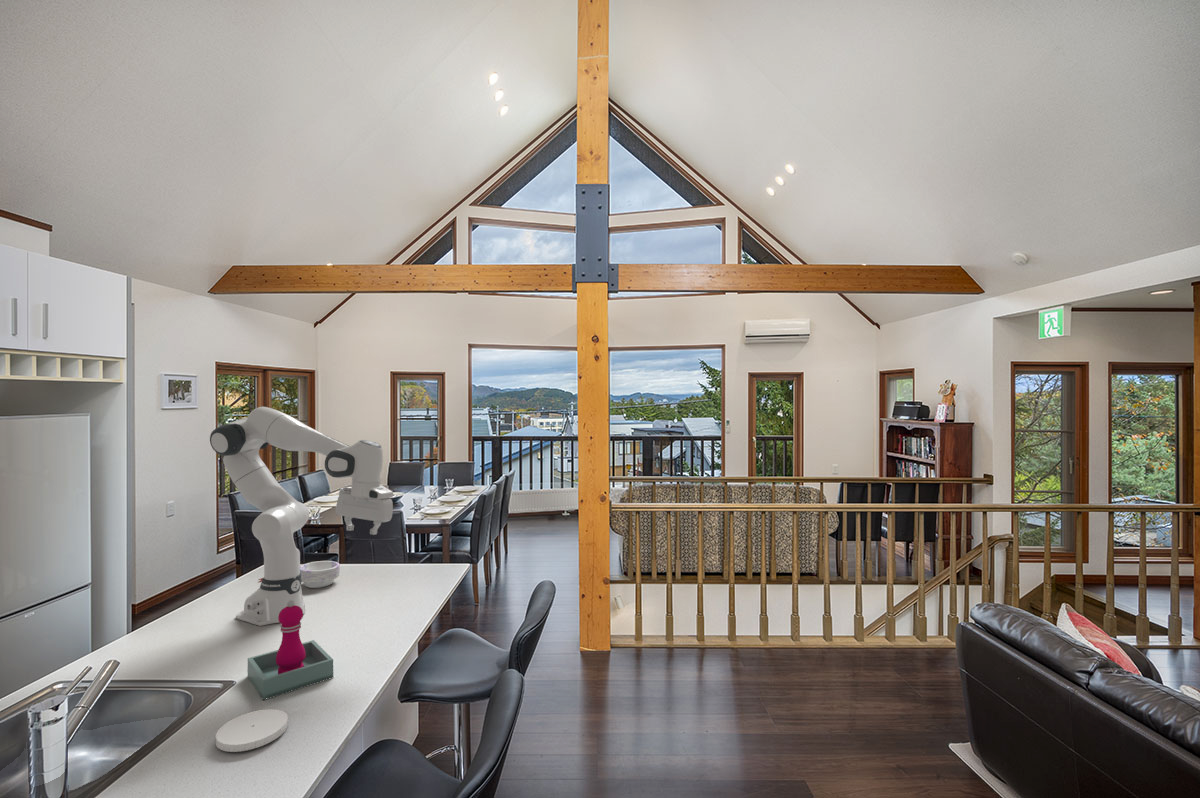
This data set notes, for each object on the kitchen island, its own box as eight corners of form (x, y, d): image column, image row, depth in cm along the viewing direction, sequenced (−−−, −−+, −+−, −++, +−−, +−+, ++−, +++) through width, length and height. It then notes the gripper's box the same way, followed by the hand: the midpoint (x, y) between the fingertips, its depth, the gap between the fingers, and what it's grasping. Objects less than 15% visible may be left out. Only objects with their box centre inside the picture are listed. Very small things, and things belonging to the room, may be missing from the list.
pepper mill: (311, 669, 158) (311, 597, 158) (289, 681, 151) (289, 606, 151) (291, 665, 161) (291, 594, 161) (269, 677, 154) (269, 603, 154)
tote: (247, 676, 156) (247, 658, 156) (313, 656, 168) (313, 640, 168) (263, 700, 144) (263, 680, 144) (333, 677, 156) (333, 659, 156)
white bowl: (347, 582, 235) (347, 563, 235) (312, 593, 222) (312, 573, 222) (325, 576, 243) (325, 558, 243) (290, 586, 230) (290, 567, 230)
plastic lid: (213, 733, 130) (213, 722, 130) (282, 713, 139) (282, 702, 139) (218, 765, 119) (217, 753, 119) (292, 740, 128) (292, 729, 128)
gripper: (333, 487, 187) (329, 529, 186) (384, 494, 180) (380, 538, 180) (347, 485, 193) (343, 526, 192) (397, 492, 186) (393, 535, 186)
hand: (361, 532), depth 186 cm, fingers open, 8 cm apart
